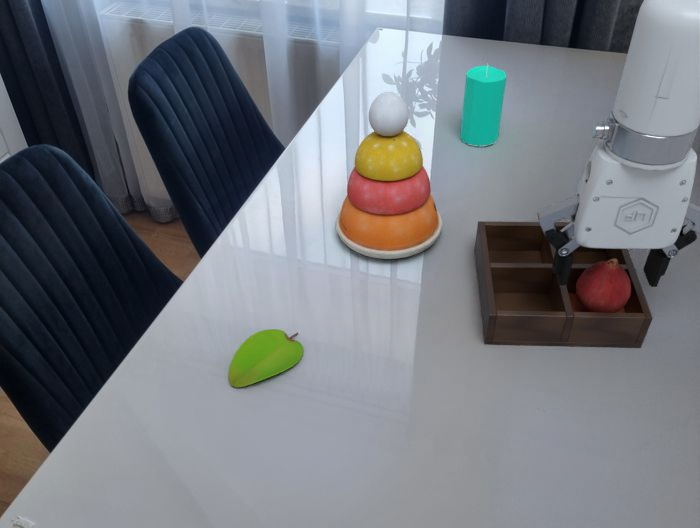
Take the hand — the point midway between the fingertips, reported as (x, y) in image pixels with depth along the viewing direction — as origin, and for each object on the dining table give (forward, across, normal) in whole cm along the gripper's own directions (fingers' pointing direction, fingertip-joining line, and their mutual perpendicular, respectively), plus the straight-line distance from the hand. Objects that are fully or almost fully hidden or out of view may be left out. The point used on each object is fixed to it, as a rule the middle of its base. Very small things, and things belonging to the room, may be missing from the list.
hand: (605, 277), depth 75 cm
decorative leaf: (+6, -37, -8) cm, 39 cm away
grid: (+6, -4, +4) cm, 9 cm away
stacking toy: (+6, -24, +16) cm, 30 cm away
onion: (+6, 0, 0) cm, 6 cm away
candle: (+6, -10, +42) cm, 44 cm away
